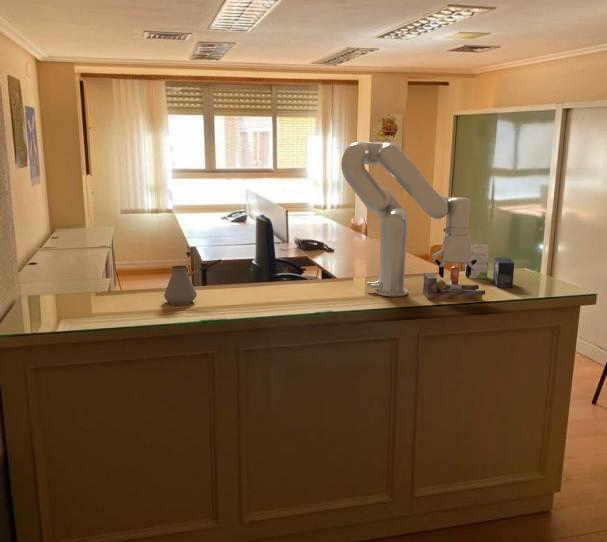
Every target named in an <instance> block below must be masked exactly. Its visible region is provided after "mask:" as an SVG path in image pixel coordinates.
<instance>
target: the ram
mask: <svg viewBox="0 0 607 542" xmlns="http://www.w3.org/2000/svg"><path fill="white" fill-rule="evenodd" d="M459 275H460V267H459V266H456V265H454V266H453V265H452V266H451V267H450V277H449V280H446V284H447V285H446V289H447V290H461V285H462V283H460V282H459Z"/></svg>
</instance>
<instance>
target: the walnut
mask: <svg viewBox="0 0 607 542" xmlns="http://www.w3.org/2000/svg"><path fill="white" fill-rule="evenodd" d="M446 284H447V282H446V281H444V280H443V279H437V284H436V290H437V291H439V292H441V290H445V288H446Z"/></svg>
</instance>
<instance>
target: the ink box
mask: <svg viewBox="0 0 607 542" xmlns="http://www.w3.org/2000/svg"><path fill="white" fill-rule="evenodd" d="M479 247H480V248H479ZM471 251H473V252H474V253H476V254H478V255H479V256H480V257H479V259H478V260H477V262H476V263H475V264H474V265H473V267H471V275H470V277H469V278H468V279H488V270H489V256H490V255H489V254H490V253H489V244H488V243H487V244H484V243H482V244H481V243H471ZM473 259H474V256H473V255H471V261H472V260H473ZM471 261H470V262H471ZM466 266H467V263H465V268H464V269H465V271H464V274H465V273H466Z"/></svg>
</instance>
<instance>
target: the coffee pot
mask: <svg viewBox="0 0 607 542" xmlns="http://www.w3.org/2000/svg"><path fill="white" fill-rule="evenodd" d="M220 262H221V264H222V265H224V263H223V260H222V259H221V258H220V259H217V260H215V261H212V262H210V263H207V264H205V265H204V266H202V267H200V268H198V269H196V270H193V271H191V272H190V273H188V269H190V268H189V266H188V265H173V266H171V267H169V269H170V270H171V272H172V273H171V275H170V279H169V281H168V283H167V286H166V289H165V291H164V294H163V296H164V299H165V300H166V301H167V302H168V303H169V305H172V306H186V305H190V304H191V303H192V302H193V301H195V299H197V294H198V293H197V291H196V289H195V287H194V285H193V282H192V280H191V278H190V277H191V276H193V275H195V274H197V273H199V272H201V271H204V270H206V269H208V268H211V267H213V266H214V265H217V264H218V263H220Z"/></svg>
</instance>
